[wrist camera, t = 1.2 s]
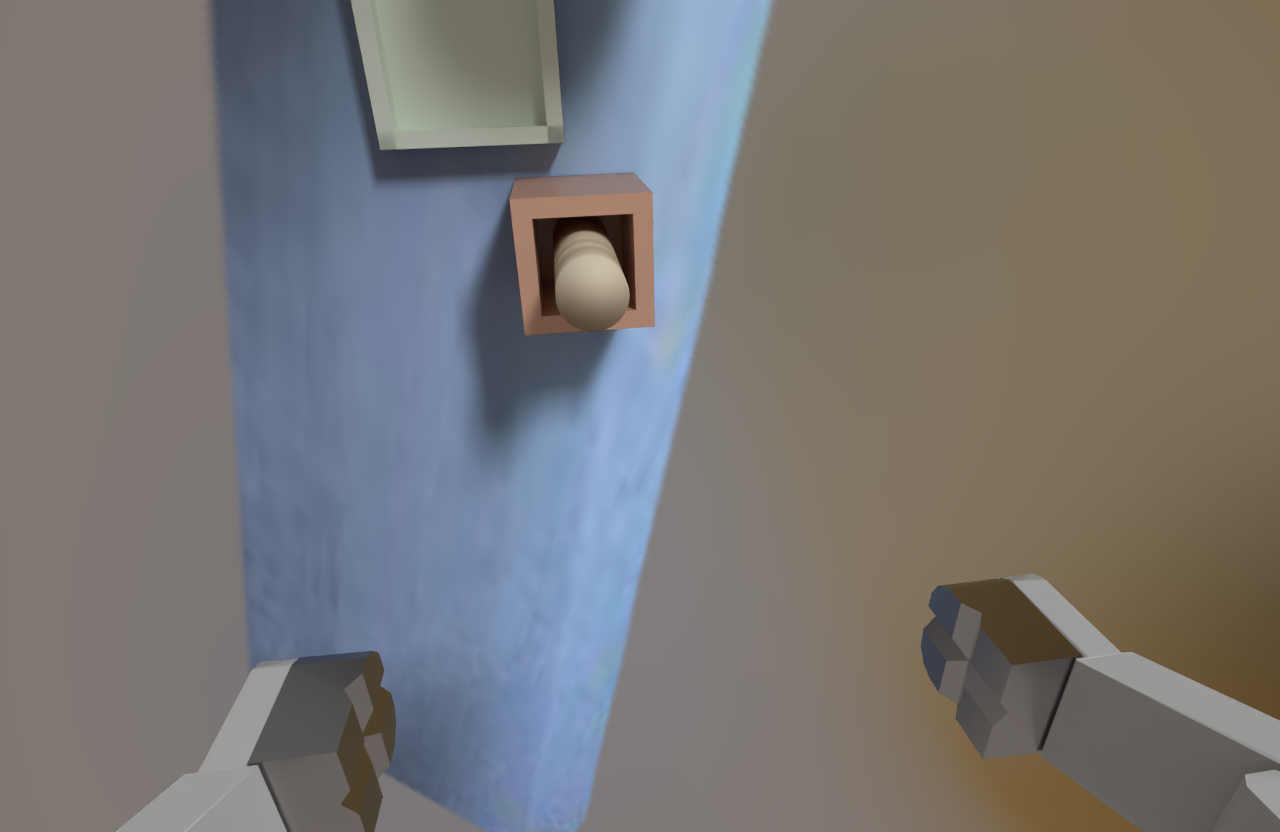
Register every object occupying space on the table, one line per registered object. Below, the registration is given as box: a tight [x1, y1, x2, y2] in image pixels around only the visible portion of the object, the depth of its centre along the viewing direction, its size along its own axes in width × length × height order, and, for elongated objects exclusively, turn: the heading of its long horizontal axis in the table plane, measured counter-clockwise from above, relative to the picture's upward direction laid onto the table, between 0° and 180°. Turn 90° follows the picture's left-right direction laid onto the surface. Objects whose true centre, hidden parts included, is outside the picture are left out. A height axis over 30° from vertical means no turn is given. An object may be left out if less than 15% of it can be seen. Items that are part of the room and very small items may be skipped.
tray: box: [351, 0, 564, 150], centre depth 30 cm, size 12×9×2 cm
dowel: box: [553, 216, 630, 332], centre depth 31 cm, size 3×3×11 cm
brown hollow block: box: [509, 173, 655, 335], centre depth 34 cm, size 6×6×7 cm
